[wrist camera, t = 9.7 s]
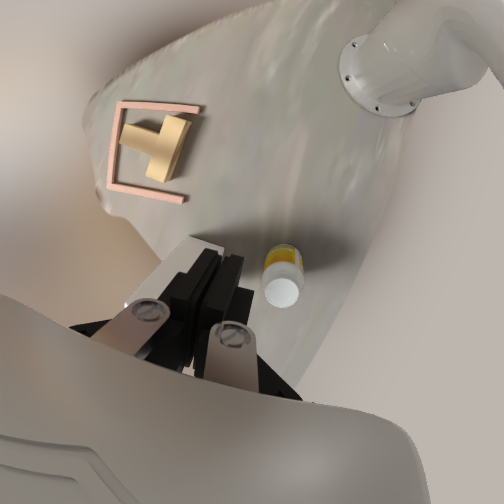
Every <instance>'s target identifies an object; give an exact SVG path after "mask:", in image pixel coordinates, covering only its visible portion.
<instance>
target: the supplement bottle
mask: <svg viewBox="0 0 504 504" xmlns="http://www.w3.org/2000/svg"><path fill="white" fill-rule="evenodd" d="M303 286H304V271H303V261H302V256H301V254H300V252H299V251H298V250H297V249H296V248H295V247H293V246H291V245H286V244H281V245H277V246H275V247H273V248H272V249H271V250H270V251H269V252H268V254H267V256H266V260H265V265H264V270H263V275H262V287H263V289H264V291H265V296H266V299H267V300H268V302H269V303H270V304H272V305H273V306H276V307H281V308H284V307H288V306H291V305H293V304H294V303H295V302H296V301H297V299H298V297H299V294H300V292H301V291H302V289H303Z"/></svg>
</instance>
